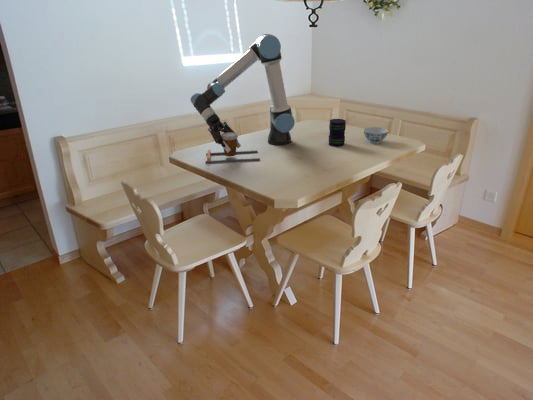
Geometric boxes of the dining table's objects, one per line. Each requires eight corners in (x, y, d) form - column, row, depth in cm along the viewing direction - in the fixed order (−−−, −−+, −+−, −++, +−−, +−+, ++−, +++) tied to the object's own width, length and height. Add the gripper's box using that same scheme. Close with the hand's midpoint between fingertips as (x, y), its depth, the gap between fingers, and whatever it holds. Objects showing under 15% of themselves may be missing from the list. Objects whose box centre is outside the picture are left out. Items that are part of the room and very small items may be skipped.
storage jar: (327, 146, 242) (328, 122, 235) (329, 141, 250) (330, 118, 244) (343, 147, 239) (345, 123, 233) (345, 142, 248) (347, 119, 241)
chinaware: (381, 147, 238) (382, 134, 235) (358, 143, 247) (359, 130, 243) (390, 141, 249) (392, 129, 246) (368, 137, 257) (369, 125, 254)
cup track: (257, 152, 233) (257, 147, 232) (259, 160, 219) (259, 155, 218) (206, 154, 230) (206, 149, 229) (205, 163, 217) (205, 158, 215)
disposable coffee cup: (236, 158, 219) (235, 136, 214) (219, 157, 221) (218, 136, 216) (240, 152, 227) (239, 132, 222) (224, 151, 229) (223, 131, 224)
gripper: (219, 117, 233) (242, 148, 231) (194, 125, 217) (218, 158, 215) (226, 109, 228) (249, 140, 226) (201, 117, 212) (225, 150, 210)
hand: (234, 149), depth 221 cm, fingers closed on disposable coffee cup, 9 cm apart
